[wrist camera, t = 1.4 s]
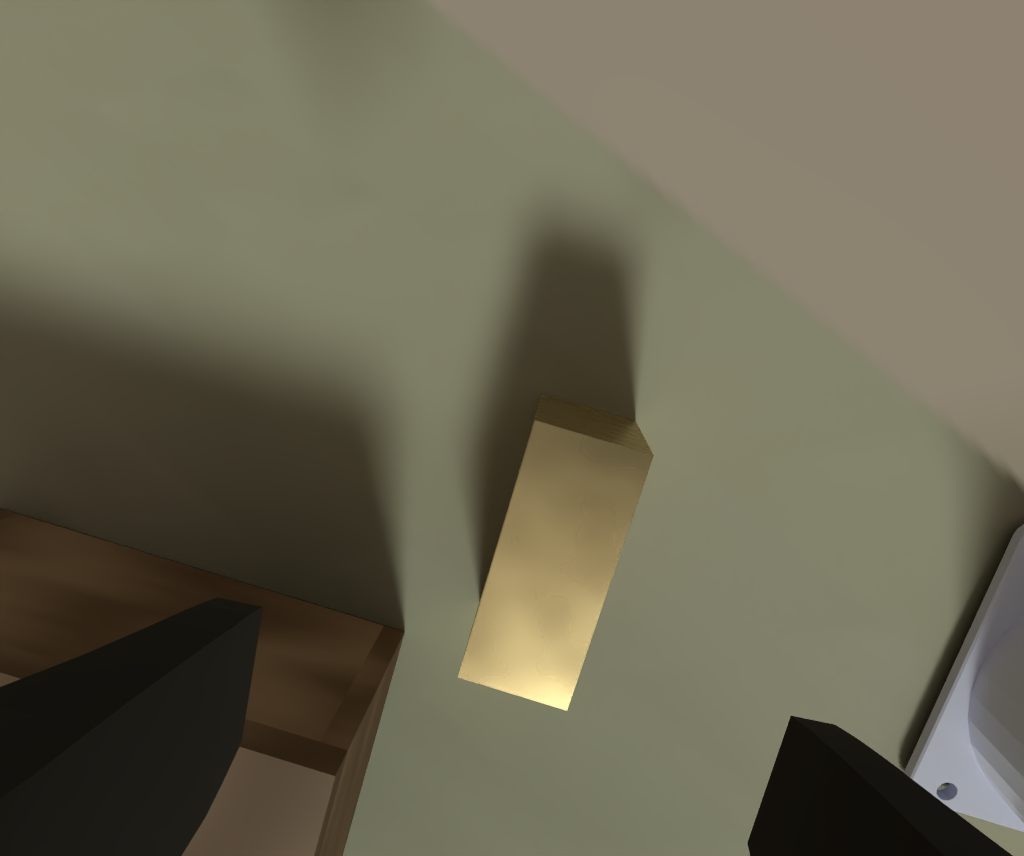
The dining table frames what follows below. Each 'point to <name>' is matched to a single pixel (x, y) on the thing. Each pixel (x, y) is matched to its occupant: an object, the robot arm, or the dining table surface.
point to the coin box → (273, 692)
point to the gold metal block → (556, 551)
